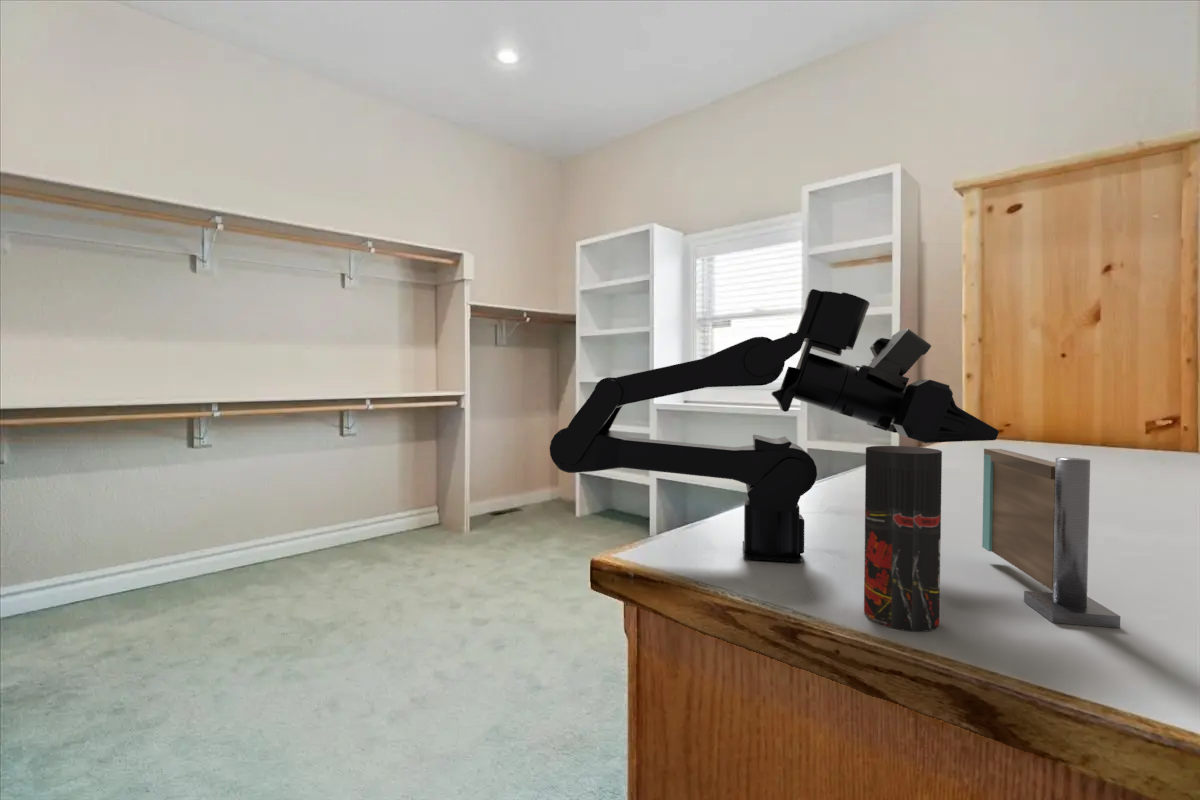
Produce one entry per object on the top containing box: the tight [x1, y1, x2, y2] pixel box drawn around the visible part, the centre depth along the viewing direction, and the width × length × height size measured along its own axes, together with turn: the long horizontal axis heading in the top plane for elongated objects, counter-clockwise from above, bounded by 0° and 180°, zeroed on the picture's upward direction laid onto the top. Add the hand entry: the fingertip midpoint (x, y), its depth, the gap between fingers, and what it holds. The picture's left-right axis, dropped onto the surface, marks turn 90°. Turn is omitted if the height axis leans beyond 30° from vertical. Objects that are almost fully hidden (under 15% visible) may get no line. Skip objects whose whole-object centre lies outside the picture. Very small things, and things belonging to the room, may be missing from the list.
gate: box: [981, 448, 1055, 592], centre depth 60 cm, size 2×14×12 cm, turn 167°
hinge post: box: [1023, 456, 1121, 629], centre depth 52 cm, size 5×5×14 cm
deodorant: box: [863, 445, 943, 633], centre depth 51 cm, size 6×6×15 cm
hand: (978, 431), depth 65 cm, fingers open, 9 cm apart
